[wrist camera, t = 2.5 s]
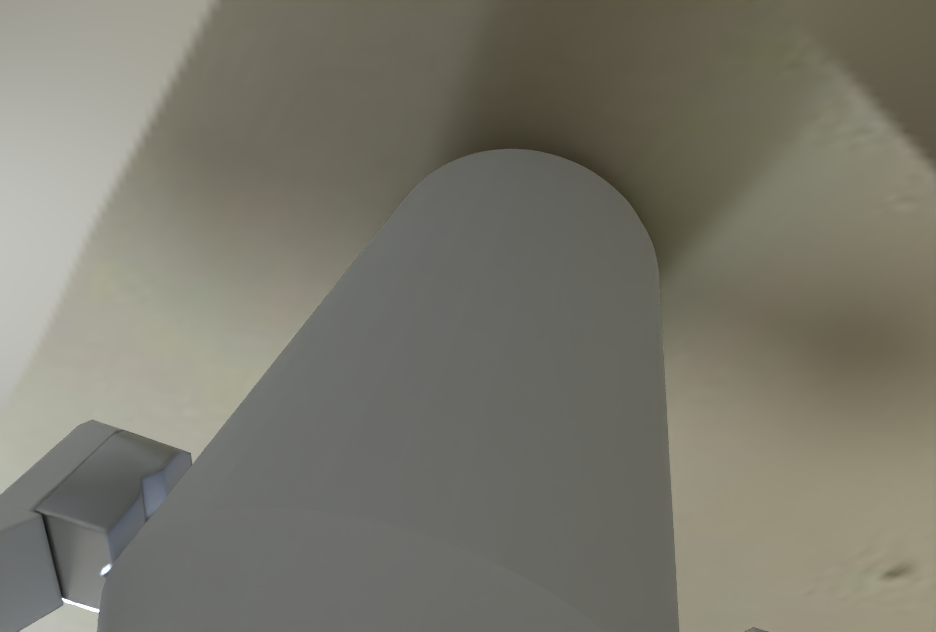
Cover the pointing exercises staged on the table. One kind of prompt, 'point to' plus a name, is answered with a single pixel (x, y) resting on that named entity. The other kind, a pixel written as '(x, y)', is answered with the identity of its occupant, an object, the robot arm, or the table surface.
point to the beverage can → (442, 435)
